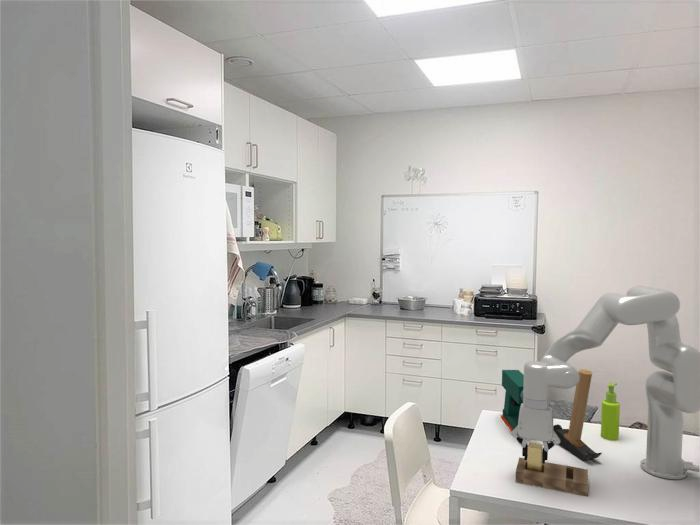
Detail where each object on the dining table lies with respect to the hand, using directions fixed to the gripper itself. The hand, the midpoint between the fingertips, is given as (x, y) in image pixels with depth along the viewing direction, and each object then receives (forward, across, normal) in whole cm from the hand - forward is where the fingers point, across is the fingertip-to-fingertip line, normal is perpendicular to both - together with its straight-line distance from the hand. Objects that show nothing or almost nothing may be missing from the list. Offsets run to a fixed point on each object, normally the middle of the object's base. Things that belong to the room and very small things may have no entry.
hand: (534, 459), depth 156 cm
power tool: (+6, +7, -34) cm, 35 cm away
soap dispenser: (+6, -23, -44) cm, 50 cm away
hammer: (+6, -11, -26) cm, 29 cm away
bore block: (+6, -5, 0) cm, 8 cm away
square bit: (+5, 0, 0) cm, 5 cm away
